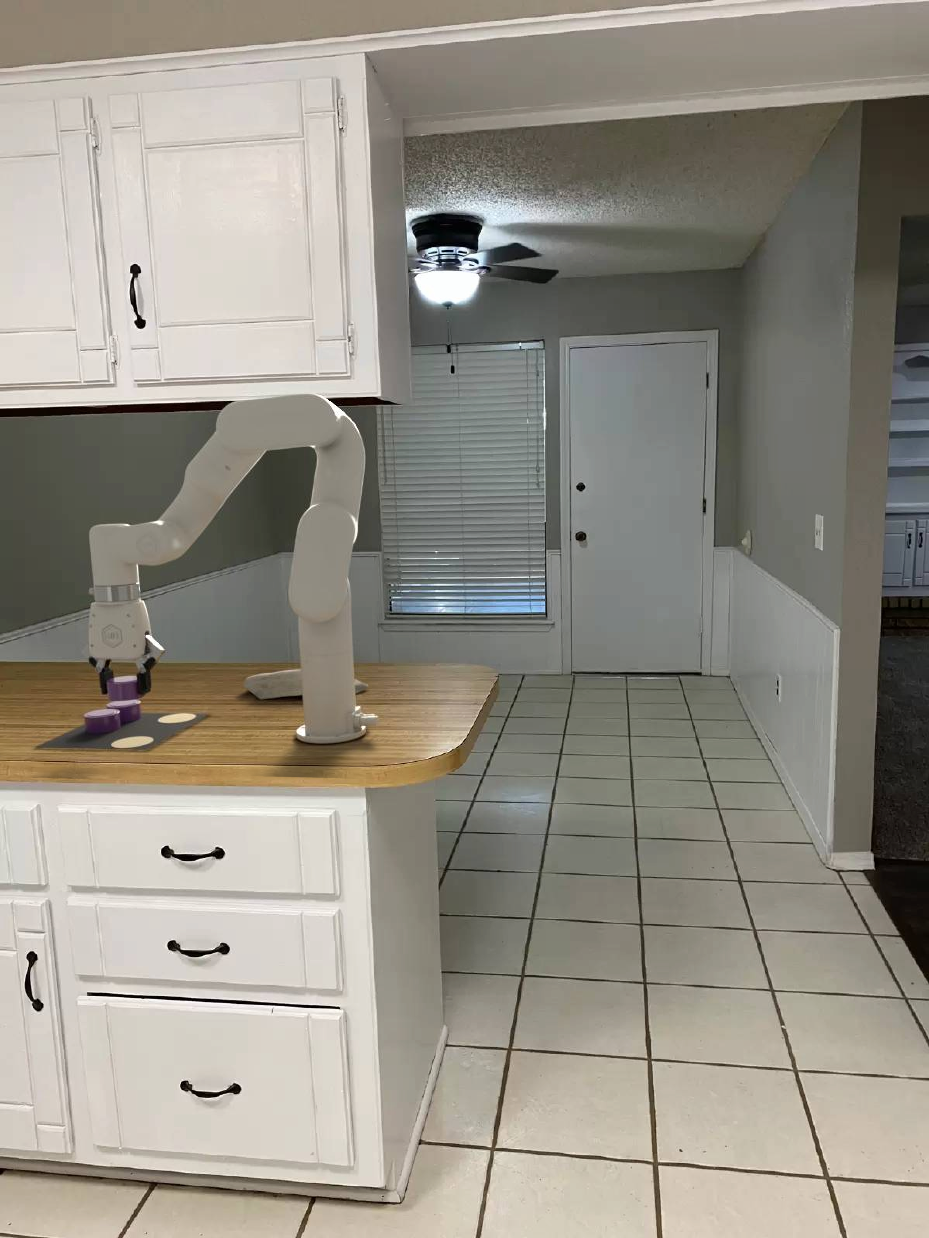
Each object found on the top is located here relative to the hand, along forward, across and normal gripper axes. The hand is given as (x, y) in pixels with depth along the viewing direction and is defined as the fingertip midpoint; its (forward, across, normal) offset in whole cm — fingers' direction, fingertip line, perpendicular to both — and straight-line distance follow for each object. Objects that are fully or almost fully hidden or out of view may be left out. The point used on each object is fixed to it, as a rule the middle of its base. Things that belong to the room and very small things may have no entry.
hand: (126, 692), depth 162 cm
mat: (+10, -6, +8) cm, 14 cm away
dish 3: (+9, -11, +16) cm, 21 cm away
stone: (+10, +17, +40) cm, 45 cm away
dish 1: (+9, -11, +8) cm, 17 cm away
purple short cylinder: (+1, 0, 0) cm, 1 cm away
